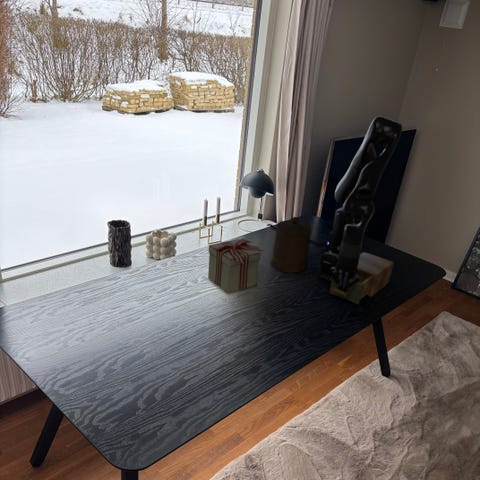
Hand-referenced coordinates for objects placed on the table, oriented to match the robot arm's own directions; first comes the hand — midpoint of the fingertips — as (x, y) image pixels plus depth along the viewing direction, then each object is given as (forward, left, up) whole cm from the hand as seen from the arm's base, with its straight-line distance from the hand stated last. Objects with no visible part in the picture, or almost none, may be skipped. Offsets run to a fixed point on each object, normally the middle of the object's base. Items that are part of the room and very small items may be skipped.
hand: (341, 294), depth 184 cm
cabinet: (0, +23, -4) cm, 23 cm away
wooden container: (-33, +14, -4) cm, 36 cm away
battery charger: (-14, +14, -4) cm, 21 cm away
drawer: (0, +8, -3) cm, 9 cm away
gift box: (-39, -16, -4) cm, 43 cm away
